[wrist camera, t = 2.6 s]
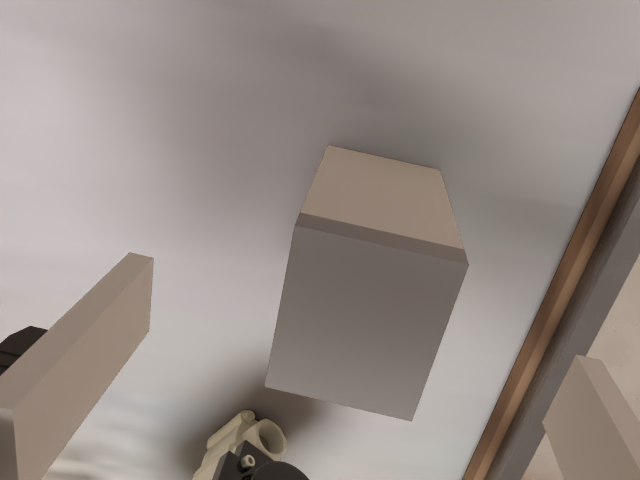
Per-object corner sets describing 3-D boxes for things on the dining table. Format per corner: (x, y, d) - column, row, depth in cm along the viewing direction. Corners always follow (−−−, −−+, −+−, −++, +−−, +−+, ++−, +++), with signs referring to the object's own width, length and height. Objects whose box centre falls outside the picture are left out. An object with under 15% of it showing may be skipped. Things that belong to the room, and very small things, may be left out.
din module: (328, 145, 23) (294, 225, 15) (439, 169, 23) (468, 265, 14) (304, 262, 25) (264, 386, 17) (404, 286, 25) (411, 421, 17)
